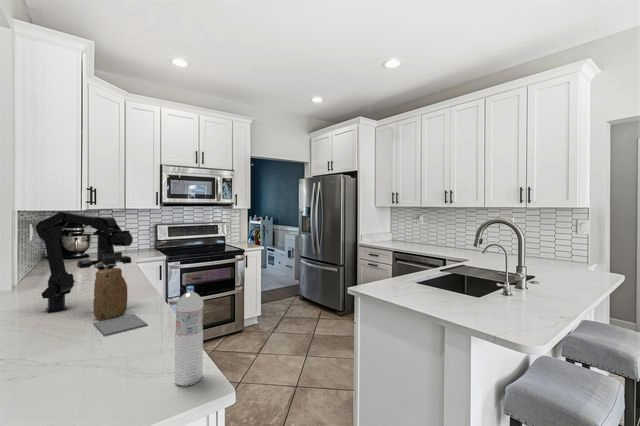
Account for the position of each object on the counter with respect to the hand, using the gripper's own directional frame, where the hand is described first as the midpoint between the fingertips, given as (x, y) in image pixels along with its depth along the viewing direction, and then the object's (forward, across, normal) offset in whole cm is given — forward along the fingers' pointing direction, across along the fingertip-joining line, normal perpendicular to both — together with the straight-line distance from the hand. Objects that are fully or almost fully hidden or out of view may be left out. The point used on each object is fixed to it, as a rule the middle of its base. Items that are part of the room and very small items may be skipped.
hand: (105, 281), depth 132 cm
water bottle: (+14, +1, -79) cm, 80 cm away
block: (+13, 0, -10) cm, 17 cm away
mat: (+13, 0, -23) cm, 26 cm away
